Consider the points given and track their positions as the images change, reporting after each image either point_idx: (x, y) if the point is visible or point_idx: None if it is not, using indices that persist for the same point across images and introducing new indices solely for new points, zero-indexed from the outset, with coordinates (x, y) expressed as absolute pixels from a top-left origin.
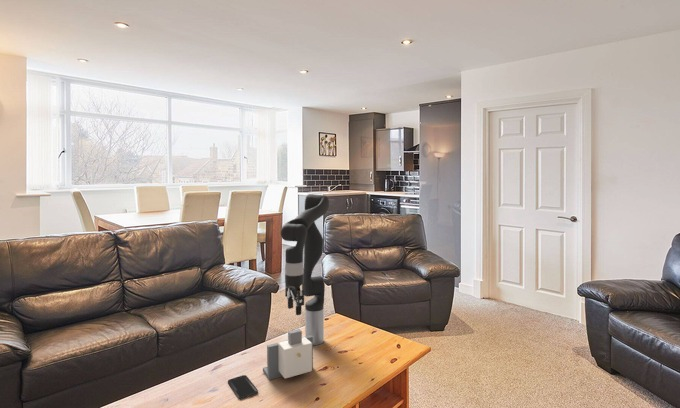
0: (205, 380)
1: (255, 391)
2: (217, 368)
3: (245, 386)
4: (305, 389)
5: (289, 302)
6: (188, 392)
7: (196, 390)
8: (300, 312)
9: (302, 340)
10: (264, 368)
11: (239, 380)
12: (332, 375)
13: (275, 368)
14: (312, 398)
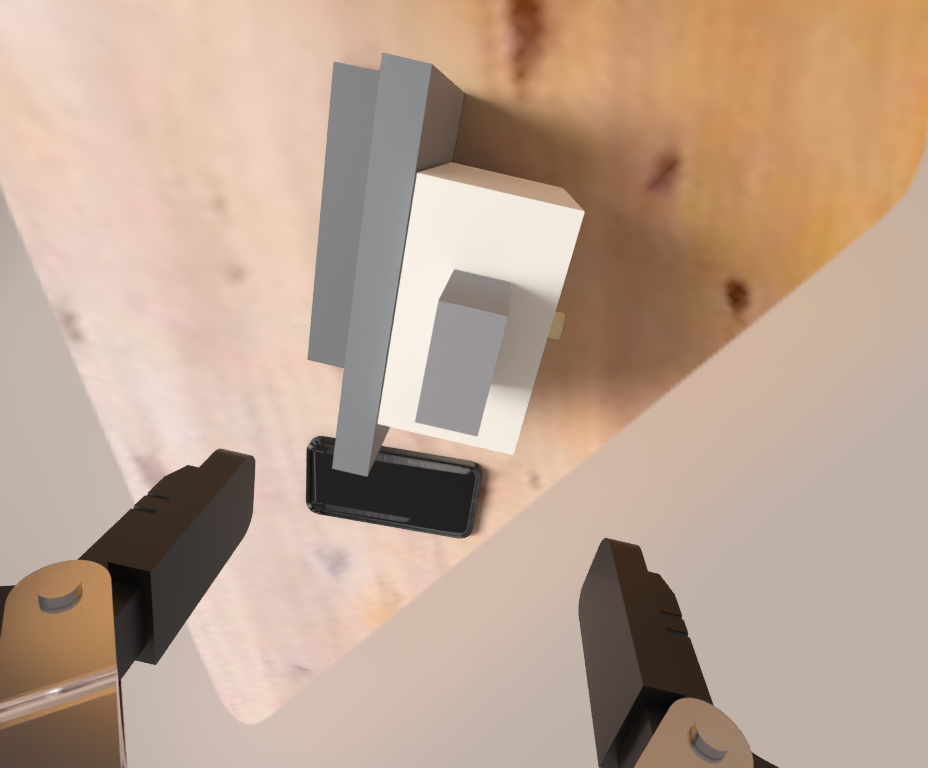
0: (248, 554)
1: (469, 475)
2: None
3: (403, 483)
4: (623, 289)
5: (190, 597)
6: (299, 619)
7: (302, 599)
8: (671, 611)
9: (475, 246)
10: (319, 357)
11: (338, 477)
12: (640, 47)
13: None
14: (714, 313)
